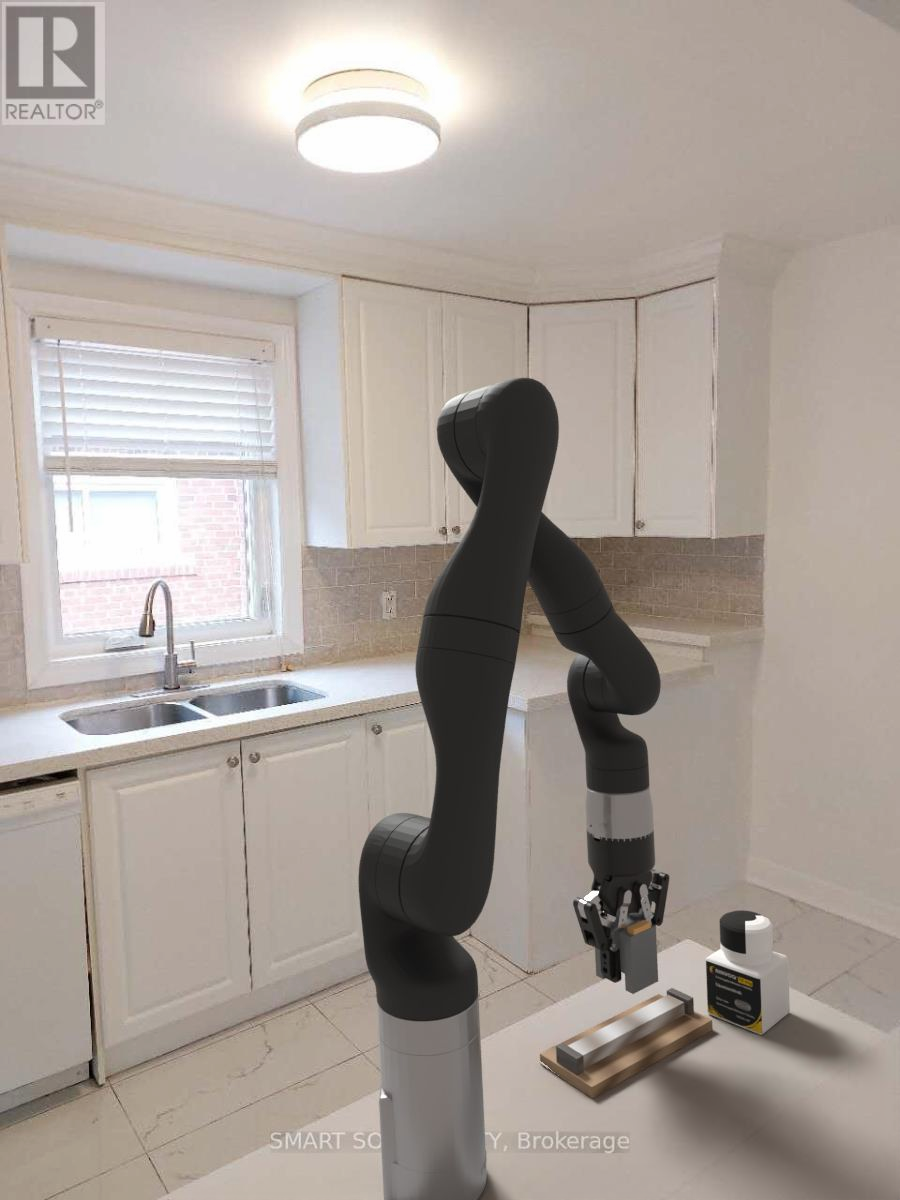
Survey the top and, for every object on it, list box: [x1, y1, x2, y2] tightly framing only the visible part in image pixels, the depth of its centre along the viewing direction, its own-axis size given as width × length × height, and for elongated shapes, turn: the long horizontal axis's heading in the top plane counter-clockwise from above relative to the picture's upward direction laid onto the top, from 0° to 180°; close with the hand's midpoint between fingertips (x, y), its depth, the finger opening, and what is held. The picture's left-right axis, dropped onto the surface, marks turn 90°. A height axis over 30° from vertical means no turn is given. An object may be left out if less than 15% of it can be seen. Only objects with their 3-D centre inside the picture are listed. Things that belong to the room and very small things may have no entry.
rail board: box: [539, 987, 714, 1099], centre depth 97 cm, size 20×8×3 cm, turn 126°
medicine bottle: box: [705, 910, 791, 1036], centre depth 103 cm, size 7×7×12 cm
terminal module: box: [594, 914, 659, 995], centre depth 97 cm, size 4×6×7 cm
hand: (626, 971), depth 97 cm, fingers closed on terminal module, 4 cm apart
